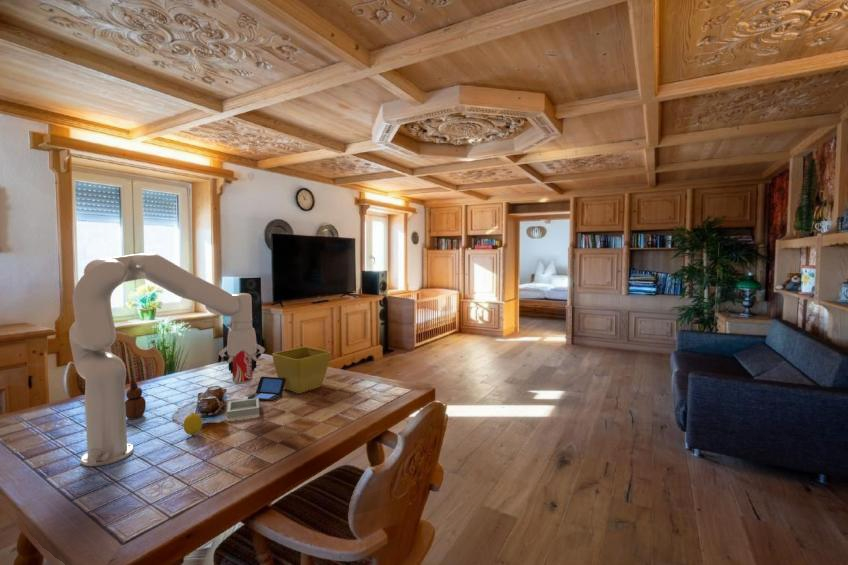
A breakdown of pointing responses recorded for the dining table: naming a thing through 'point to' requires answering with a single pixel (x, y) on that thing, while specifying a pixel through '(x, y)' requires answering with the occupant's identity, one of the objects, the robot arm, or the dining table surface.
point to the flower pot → (301, 368)
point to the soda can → (242, 368)
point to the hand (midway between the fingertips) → (242, 370)
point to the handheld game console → (269, 389)
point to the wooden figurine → (134, 402)
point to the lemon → (192, 424)
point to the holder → (243, 409)
